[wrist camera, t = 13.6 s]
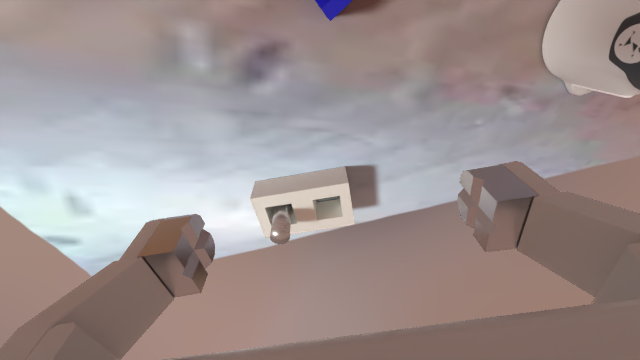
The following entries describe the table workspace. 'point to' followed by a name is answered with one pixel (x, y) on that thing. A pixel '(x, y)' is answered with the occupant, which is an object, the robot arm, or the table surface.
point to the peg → (281, 224)
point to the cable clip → (332, 7)
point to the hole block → (305, 200)
